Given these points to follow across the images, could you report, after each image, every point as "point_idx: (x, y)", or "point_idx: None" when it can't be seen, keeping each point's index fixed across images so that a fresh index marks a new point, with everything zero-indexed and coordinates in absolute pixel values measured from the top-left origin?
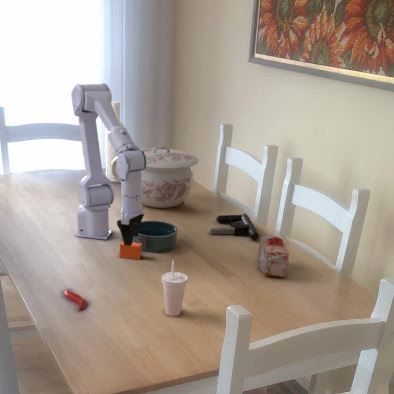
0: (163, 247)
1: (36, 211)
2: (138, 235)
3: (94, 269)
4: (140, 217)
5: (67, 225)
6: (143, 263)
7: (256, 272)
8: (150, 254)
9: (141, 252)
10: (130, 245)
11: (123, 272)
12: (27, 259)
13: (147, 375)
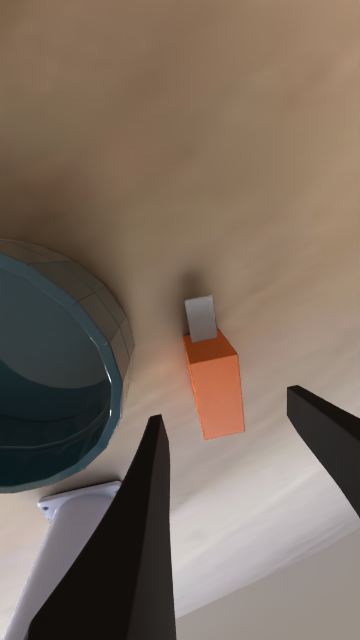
0: (87, 276)
1: None
2: (119, 417)
3: (338, 405)
4: (143, 586)
5: None
6: (246, 300)
7: None
8: (202, 297)
9: (199, 340)
10: (299, 387)
11: (342, 328)
12: (316, 527)
13: None
